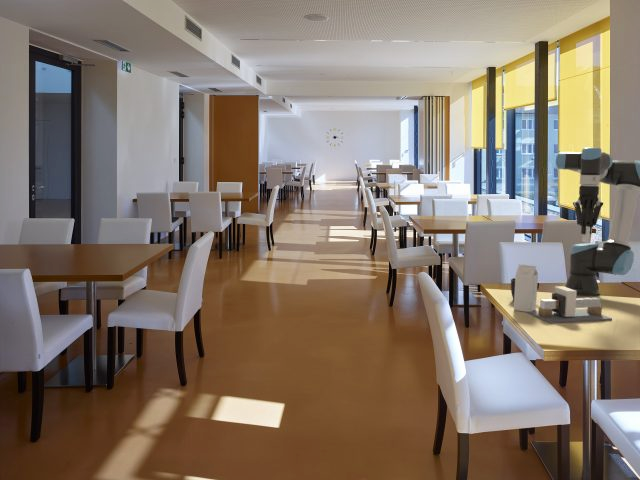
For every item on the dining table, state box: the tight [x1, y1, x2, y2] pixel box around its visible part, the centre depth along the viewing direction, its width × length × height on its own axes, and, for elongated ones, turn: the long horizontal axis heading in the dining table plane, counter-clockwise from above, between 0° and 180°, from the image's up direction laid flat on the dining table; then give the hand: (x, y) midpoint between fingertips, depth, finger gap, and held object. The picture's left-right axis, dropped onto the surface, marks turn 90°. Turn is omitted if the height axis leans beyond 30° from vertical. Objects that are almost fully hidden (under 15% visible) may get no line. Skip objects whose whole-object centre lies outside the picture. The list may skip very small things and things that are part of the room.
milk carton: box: [513, 263, 539, 313], centre depth 285 cm, size 7×7×19 cm
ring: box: [551, 292, 566, 315], centre depth 273 cm, size 2×7×7 cm, turn 13°
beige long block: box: [538, 297, 603, 318], centre depth 275 cm, size 25×5×7 cm, turn 103°
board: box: [528, 308, 613, 324], centre depth 275 cm, size 27×16×1 cm, turn 103°
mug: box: [510, 277, 540, 302], centre depth 302 cm, size 8×12×10 cm
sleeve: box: [553, 285, 577, 317], centre depth 274 cm, size 4×9×10 cm, turn 13°
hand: (585, 242), depth 286 cm, fingers closed
